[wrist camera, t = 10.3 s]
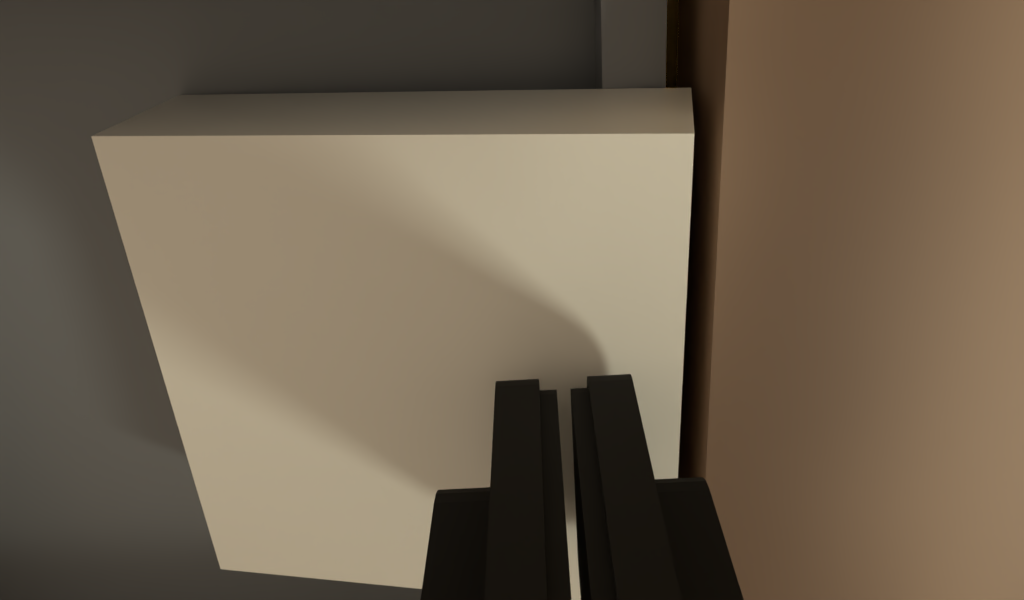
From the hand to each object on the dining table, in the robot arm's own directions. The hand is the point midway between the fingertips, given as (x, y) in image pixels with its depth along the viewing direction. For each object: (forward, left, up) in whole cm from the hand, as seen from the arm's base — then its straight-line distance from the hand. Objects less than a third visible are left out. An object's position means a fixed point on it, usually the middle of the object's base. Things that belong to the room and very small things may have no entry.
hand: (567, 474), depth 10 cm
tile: (+2, -1, -3) cm, 3 cm away
